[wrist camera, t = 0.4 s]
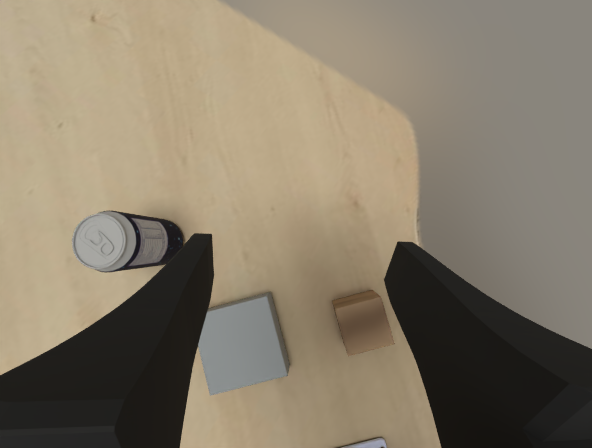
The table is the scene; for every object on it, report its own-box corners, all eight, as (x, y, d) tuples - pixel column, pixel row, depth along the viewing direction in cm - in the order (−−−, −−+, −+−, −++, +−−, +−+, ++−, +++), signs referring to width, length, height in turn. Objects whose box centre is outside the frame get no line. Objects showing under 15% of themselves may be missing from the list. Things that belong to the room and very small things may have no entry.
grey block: (289, 363, 38) (287, 375, 34) (219, 381, 38) (210, 395, 34) (271, 291, 38) (266, 296, 35) (202, 309, 39) (191, 316, 35)
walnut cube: (383, 330, 37) (394, 344, 32) (343, 341, 37) (348, 356, 32) (371, 289, 37) (380, 296, 32) (331, 300, 37) (334, 309, 32)
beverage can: (164, 210, 39) (99, 195, 27) (195, 241, 39) (142, 240, 27) (133, 242, 39) (54, 241, 27) (163, 274, 39) (96, 287, 27)
